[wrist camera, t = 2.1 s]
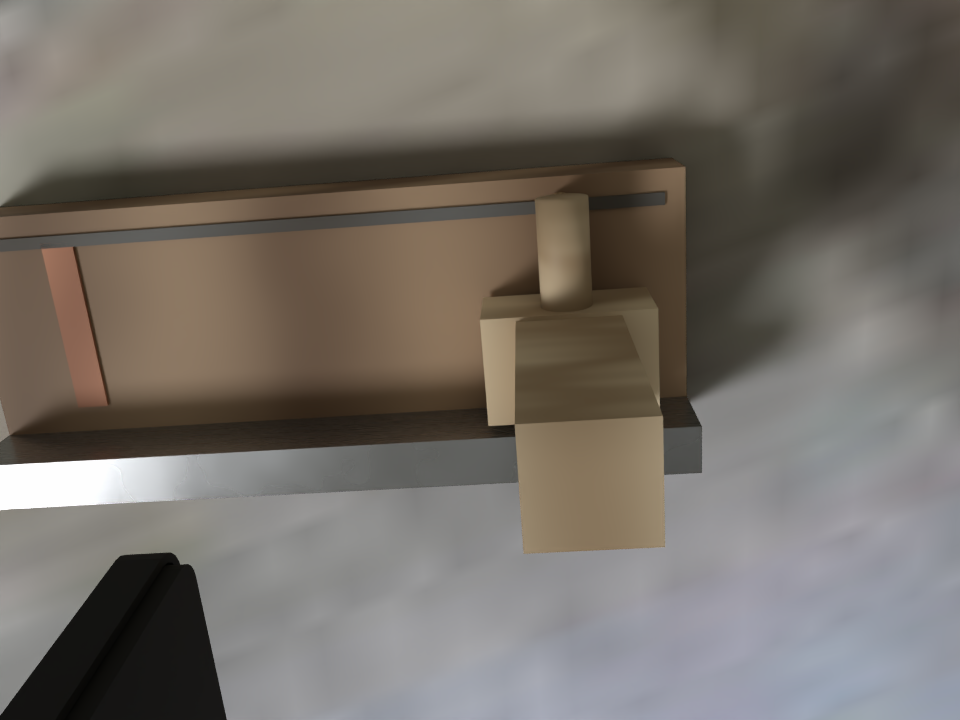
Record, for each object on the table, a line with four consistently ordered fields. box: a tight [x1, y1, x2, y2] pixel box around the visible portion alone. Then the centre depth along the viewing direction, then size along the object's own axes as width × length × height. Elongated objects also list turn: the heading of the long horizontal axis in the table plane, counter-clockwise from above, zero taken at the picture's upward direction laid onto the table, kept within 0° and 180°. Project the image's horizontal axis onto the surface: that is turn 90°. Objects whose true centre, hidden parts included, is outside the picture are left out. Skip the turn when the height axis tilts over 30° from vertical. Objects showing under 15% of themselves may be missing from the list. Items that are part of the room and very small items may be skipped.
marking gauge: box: [480, 192, 665, 554], centre depth 18 cm, size 4×5×8 cm
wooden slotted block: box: [0, 158, 702, 509], centre depth 23 cm, size 18×7×4 cm, turn 94°
